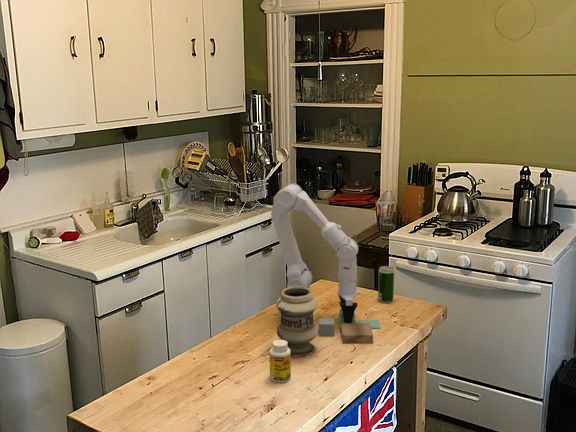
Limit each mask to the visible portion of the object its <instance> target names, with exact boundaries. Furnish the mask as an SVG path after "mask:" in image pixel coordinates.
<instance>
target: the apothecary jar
mask: <svg viewBox="0 0 576 432" xmlns="http://www.w3.org/2000/svg"><path fill="white" fill-rule="evenodd" d="M310 289H311V288H310ZM310 289H309V288H306V287H301V286H294V287H289V288H288V287H286V288H283V289H282V291H281V296H280V297H278V299H277V301H276V303H275V305H276V308H277V310H278V311H279V313H280V323H279V324H278V325H277V327H276V334H277V337H278V338H279V340H285V341H287V343H288V348H289V349H290V351H291V356H292V357H304V356H307V355H310V354H312V353H313V352H314V350H315V346H314V345H313V343H311V341H313V340H315V338H316V337H317V336H318V335H319V327H318V326H317V325H316V323H315V321H314V312H315V311H316V309H317V308H318V301H317V299H316V298H315V297H314V296H313V295H312V289H311V290H310Z"/></svg>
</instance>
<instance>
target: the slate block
mask: <svg viewBox="0 0 576 432" xmlns="http://www.w3.org/2000/svg"><path fill="white" fill-rule="evenodd" d="M318 335H319V337H334V336H335V321H334V318H328V317H327V318H318Z"/></svg>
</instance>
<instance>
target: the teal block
mask: <svg viewBox="0 0 576 432" xmlns="http://www.w3.org/2000/svg"><path fill="white" fill-rule="evenodd" d="M355 319H356V314H355V311H354V314H353V319H352V323H356V322H355V321H356V320H355ZM341 323H345V322H344V317H343V311H342V309H341V308H339V324H340V326H341Z"/></svg>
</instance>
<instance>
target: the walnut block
mask: <svg viewBox="0 0 576 432" xmlns="http://www.w3.org/2000/svg"><path fill="white" fill-rule="evenodd" d="M340 336H341V340H342V344H343V345H344V344H374V333H373V330H372V329H371V326H370V323H360V322H358V323H357V322H355V323H341V325H340Z"/></svg>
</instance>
